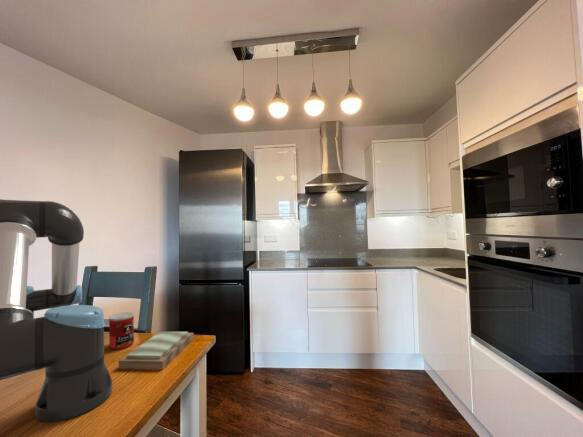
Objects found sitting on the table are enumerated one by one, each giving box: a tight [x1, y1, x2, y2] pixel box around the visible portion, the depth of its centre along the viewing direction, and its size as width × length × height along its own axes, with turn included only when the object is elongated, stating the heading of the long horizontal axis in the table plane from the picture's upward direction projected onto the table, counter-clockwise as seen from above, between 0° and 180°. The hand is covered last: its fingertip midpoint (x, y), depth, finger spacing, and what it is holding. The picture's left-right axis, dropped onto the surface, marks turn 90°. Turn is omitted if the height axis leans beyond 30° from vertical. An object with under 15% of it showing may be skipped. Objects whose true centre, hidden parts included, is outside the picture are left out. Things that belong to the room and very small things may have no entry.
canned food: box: [108, 311, 135, 351], centre depth 101 cm, size 8×8×11 cm
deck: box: [118, 331, 195, 371], centre depth 94 cm, size 22×14×4 cm, turn 176°
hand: (103, 328), depth 101 cm, fingers open, 13 cm apart
